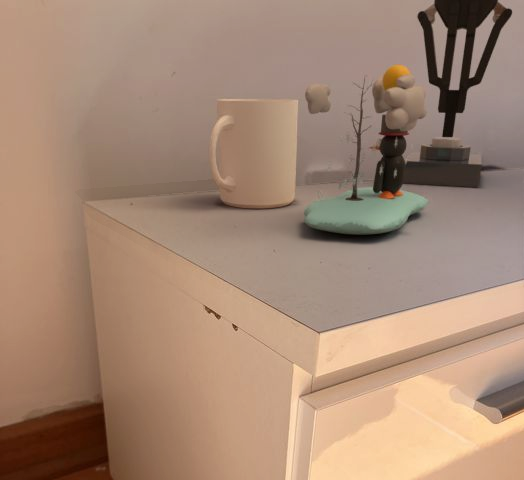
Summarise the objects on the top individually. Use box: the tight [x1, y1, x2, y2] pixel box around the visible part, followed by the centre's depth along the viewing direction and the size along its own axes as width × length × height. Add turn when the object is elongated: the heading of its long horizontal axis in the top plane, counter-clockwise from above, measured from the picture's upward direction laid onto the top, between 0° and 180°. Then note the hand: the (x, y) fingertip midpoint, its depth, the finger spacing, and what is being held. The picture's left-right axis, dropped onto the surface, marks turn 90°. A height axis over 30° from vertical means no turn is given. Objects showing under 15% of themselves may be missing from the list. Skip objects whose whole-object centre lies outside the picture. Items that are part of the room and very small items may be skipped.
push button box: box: [403, 142, 483, 188], centre depth 89 cm, size 11×13×5 cm
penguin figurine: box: [303, 64, 429, 236], centre depth 58 cm, size 20×11×15 cm, turn 149°
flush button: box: [430, 136, 463, 147], centre depth 88 cm, size 4×4×2 cm
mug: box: [208, 98, 299, 210], centre depth 68 cm, size 10×12×12 cm
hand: (447, 136), depth 87 cm, fingers closed
